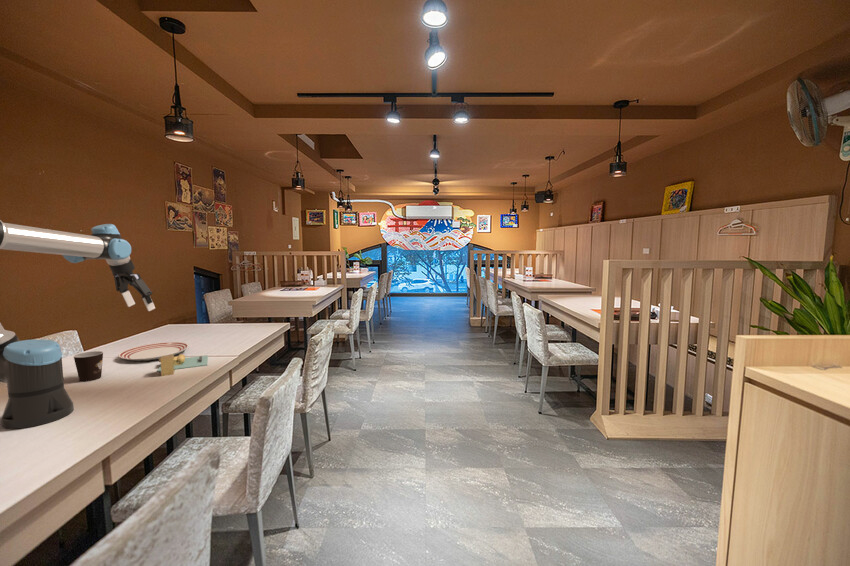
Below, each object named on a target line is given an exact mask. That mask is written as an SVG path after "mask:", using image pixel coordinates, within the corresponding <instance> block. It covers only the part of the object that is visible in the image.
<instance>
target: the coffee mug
mask: <svg viewBox="0 0 850 566" xmlns="http://www.w3.org/2000/svg"><path fill="white" fill-rule="evenodd" d="M103 359H104V351H100V350H98V351H97V350H95V351H93V350H92V351H87V352H81V353H78V354H74V355H73V360H74V364H75V369H76V371H77V375H78V381H79V382H84V383H85V382H92V381H96V380H98V379H101V378H102V374H103V373H102V371H103Z"/></svg>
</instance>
